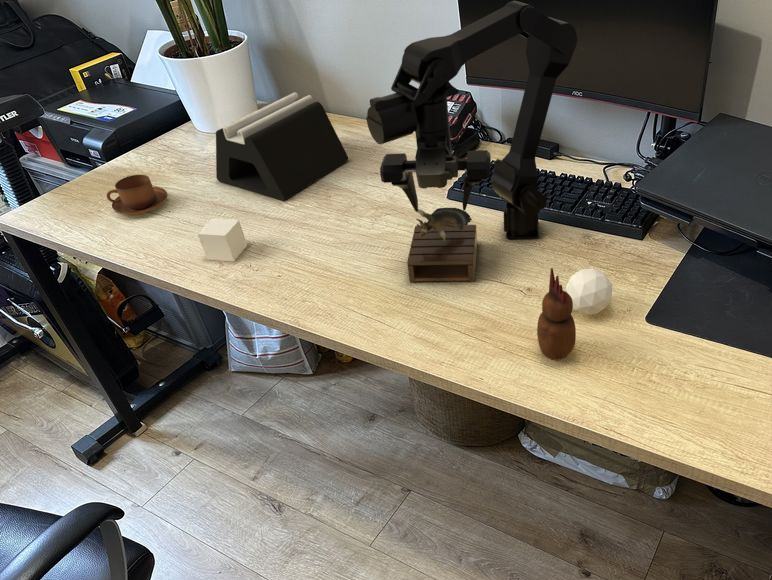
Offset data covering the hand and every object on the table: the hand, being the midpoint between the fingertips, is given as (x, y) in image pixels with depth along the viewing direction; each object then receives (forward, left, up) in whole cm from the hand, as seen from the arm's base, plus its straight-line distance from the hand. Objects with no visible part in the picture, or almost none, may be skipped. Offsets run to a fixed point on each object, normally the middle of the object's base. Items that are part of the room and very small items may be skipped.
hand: (440, 210), depth 118 cm
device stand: (+43, -41, -12) cm, 61 cm away
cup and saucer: (+72, -25, -12) cm, 77 cm away
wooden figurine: (-20, +26, -12) cm, 35 cm away
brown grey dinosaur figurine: (0, -1, -6) cm, 6 cm away
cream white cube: (+45, -5, -12) cm, 47 cm away
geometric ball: (-26, +15, -12) cm, 32 cm away
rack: (0, 0, -11) cm, 11 cm away
